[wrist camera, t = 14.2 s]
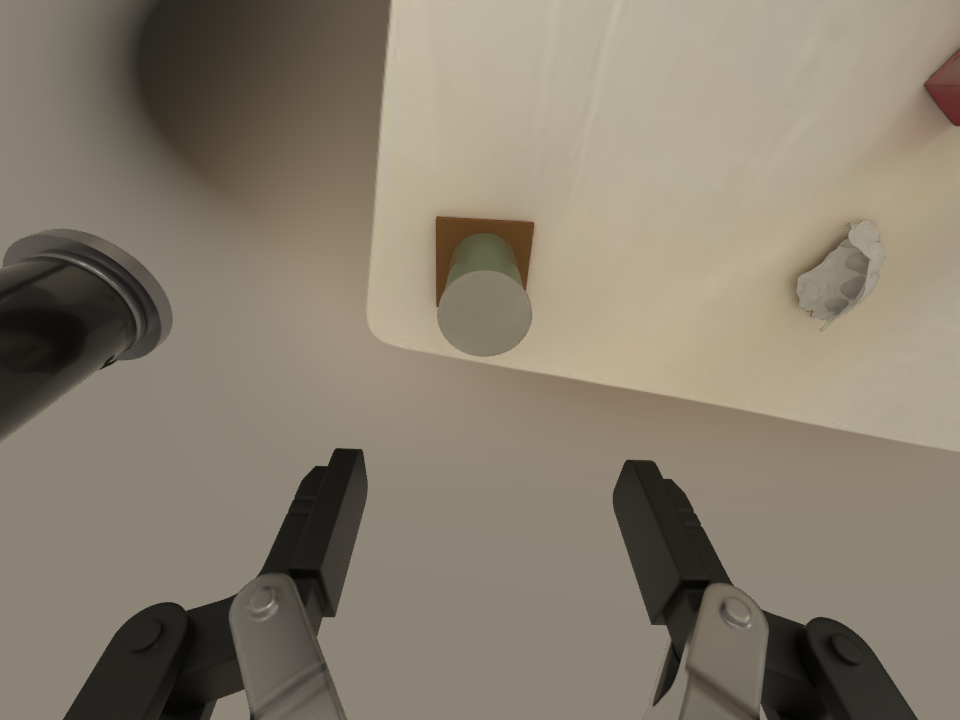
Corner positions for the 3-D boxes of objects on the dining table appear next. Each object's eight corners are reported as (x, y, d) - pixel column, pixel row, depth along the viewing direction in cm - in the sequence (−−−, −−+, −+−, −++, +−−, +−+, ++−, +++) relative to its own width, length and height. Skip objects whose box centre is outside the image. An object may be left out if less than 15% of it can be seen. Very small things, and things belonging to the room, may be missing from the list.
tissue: (901, 230, 29) (953, 248, 26) (822, 323, 34) (858, 347, 30) (838, 211, 28) (883, 226, 25) (766, 308, 33) (796, 332, 30)
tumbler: (446, 298, 32) (437, 354, 25) (446, 227, 29) (436, 270, 22) (516, 302, 32) (526, 358, 25) (524, 231, 29) (538, 275, 22)
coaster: (437, 304, 33) (436, 307, 32) (436, 216, 29) (435, 218, 28) (522, 308, 33) (522, 311, 32) (533, 221, 29) (534, 224, 28)
